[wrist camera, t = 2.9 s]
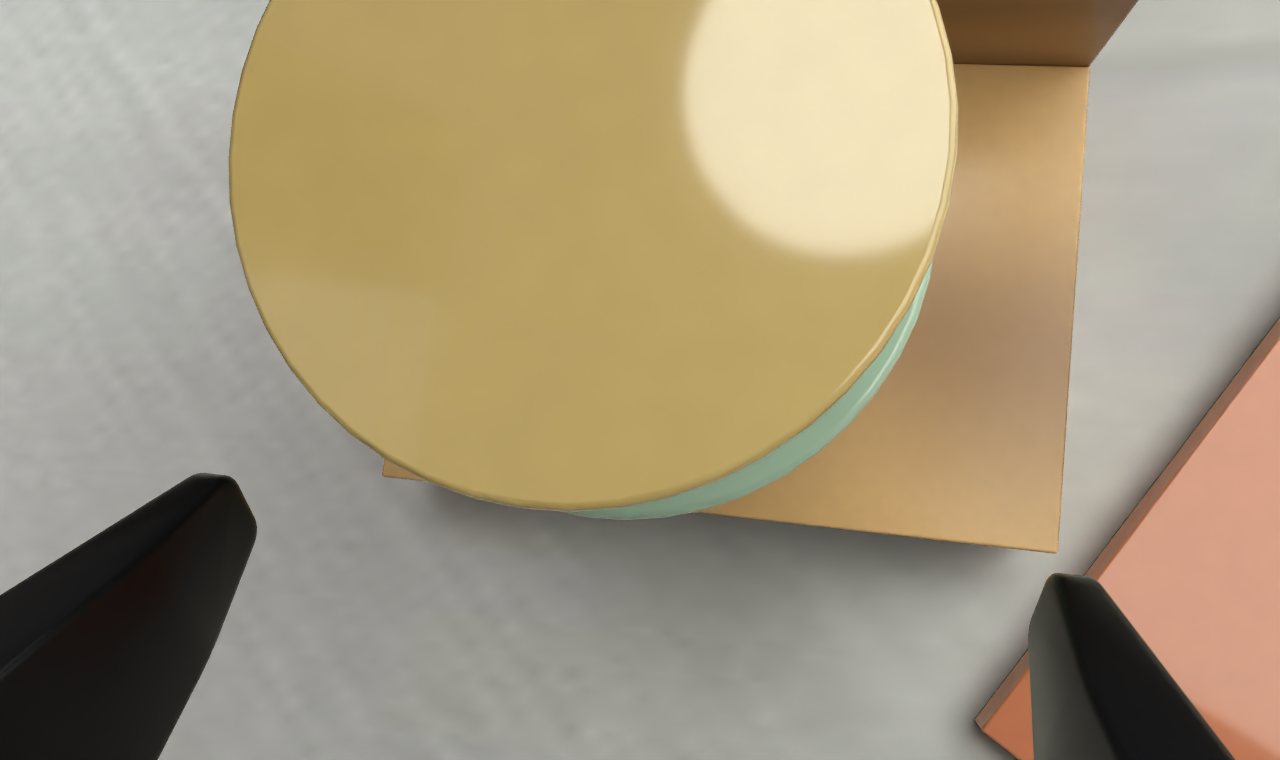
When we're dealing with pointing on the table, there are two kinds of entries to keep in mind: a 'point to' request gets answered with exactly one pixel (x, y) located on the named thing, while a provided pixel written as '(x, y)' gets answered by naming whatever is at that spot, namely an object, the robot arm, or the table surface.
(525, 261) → the jar
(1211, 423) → the trivet
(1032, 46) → the shelf
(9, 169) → the table surface
